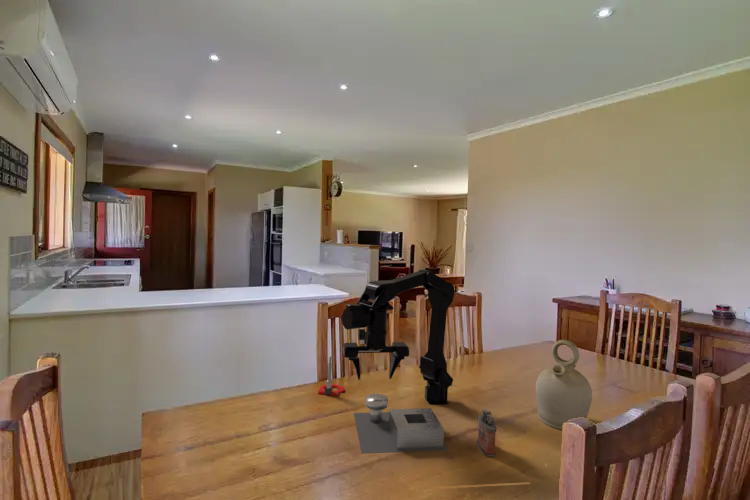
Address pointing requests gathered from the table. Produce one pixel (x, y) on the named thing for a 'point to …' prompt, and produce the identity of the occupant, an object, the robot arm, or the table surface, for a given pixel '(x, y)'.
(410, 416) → the hitch block
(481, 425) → the lighter
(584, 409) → the jug
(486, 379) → the table surface
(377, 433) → the mat
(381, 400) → the silver door knob
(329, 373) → the tow hook
